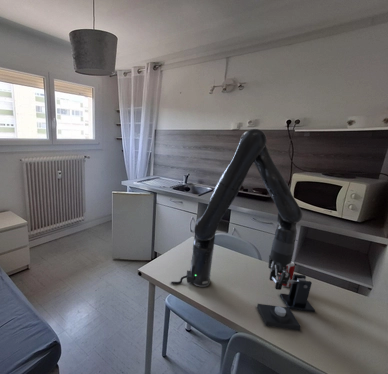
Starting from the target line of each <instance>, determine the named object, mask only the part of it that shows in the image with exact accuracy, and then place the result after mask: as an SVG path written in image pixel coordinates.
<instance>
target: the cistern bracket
mask: <svg viewBox="0 0 388 374" xmlns="http://www.w3.org/2000/svg"><path fill="white" fill-rule="evenodd" d="M297 278H304V279H305V280H306V281H302V280H299V281H298V284H295V283H291V286H290V287H289V291H288V293H279V297H280V298H281V300H282V302H283V303H284V304H285V307H288V308H289V309H290V310H291V311H292V310H293V311H300V312H307V313H308V312H309V313H316V309H315V308H314V307H313V306H312V304H311V303H310V302H309V301H308V299H309V295H310V291H311V287H312V281H310V280H307V279H306V278H307V276H306V275H305V274H298V273H293V278H292V280H297Z"/></svg>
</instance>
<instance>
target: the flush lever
mask: <svg viewBox="0 0 388 374" xmlns="http://www.w3.org/2000/svg"><path fill="white" fill-rule="evenodd" d="M272 279H273V281H272V282H273V283H274V284H275V285H276V281H277V277H276V278H275V276H272ZM299 280H302V281H307V279H304V278H297V280H288V282H287V283H295V284H298V281H299ZM284 281H285V280H284Z"/></svg>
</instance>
